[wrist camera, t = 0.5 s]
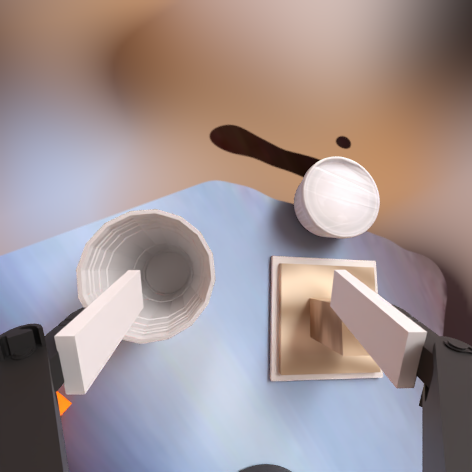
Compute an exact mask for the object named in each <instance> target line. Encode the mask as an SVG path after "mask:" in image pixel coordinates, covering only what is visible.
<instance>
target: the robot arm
mask: <svg viewBox="0 0 472 472" xmlns="http://www.w3.org/2000/svg"><path fill="white" fill-rule="evenodd" d="M330 307H331V308H332V309H333V310H334V311H335V313H336V314H337V315H338V316H339V318H340V319H341V320H342V321H343V323H344V324H345V325H346V326H347V328H348V329H349V330H350V331H351V332H352V334H353V335H354V336H355V337H356V339H357V340H358V341H359V342H360V344H361V345H362V346H363V347H364V349H365V350H366V351H367V352H368V354H369V355H370V356H371V357H372V358H373V360H374V361H375V362H376V363H377V365H378V366H379V367H380V368H381V370H382V371H383V372H384V373H385V375H386V376H387V377H388V378H389V380H390V381H391V382H392V383H393V384H394V386H395V387H396V388H414V385H415V381H416V377H417V376H418V377H419V378H420V379H421V380H422V382H423V383H424V387H423V391H422V395H421V399H420V403H419V406H421V407H423V472H472V347H471V346H470V345H468V344H466V343H464V342H462V341H459V340H457V339H454V338H450V337H442V336H438V335H437V334H436V333H434V332H433V331H432V330H430V329H429V328H428V327H426V326H425V325H423V324H422V323H421V322H418V320H417V319H415V318H414V317H412V316H411V315H410V314H409V313H407V312H406V311H405V310H403V309H401V308H399V307H397V306H395V305H391V304H390V303H388V302H387V301H386V300H384V299H383V298H382V297H381V296H379V295H378V294H377V293H375V292H374V291H373V290H371V289H370V288H369V287H367V286H366V285H365V284H363V283H362V282H361V281H360V280H358V279H357V278H356V277H354V276H353V275H352V274H350V273H349V272H348V271H346V270H334V277H333V286H332V294H331V302H330ZM142 309H143V296H142V286H141V275H140V270H128V271H127V272H126V273H125V274H124V275H122V276H121V277H120V278H119V279H118V280H117V281H116V282H115V283H113V284H112V285H111V286H110V287H109V288H108V289H107V290H106V291H104V292H103V293H102V294H101V295H100V296H99V297H98V298H97V299H95V300H94V301H93V302H92V303H91V304H90V305H89V306H88V307H87V308H81V309H79V310H77V311H75V312H73V313H72V314H70V315H69V316H68V317H67V318H66V319H65V320H64V321H62V322H61V323H60V324H59V325H58V326H56V327H55V328H54V329H53V330H52V331H50V332H49V333H48V334H47V335H46V336H44V332H43V328H42V326H41V325H39V324H27V325H23V326H19V327H16V328H13V329H11V330H9V331H7V332H5V333H3V334H2V335H0V472H69V468H68V462H67V455H66V449H65V442H64V436H63V429H62V423H61V416H60V410H59V403H58V397H57V393H56V392H57V390H58V389H59V388H60V387H61V386H62V384H63V383H64V387H65V392H66V395H76V394H86V392H87V391H88V389H89V388H90V386H91V385H92V383H93V382H94V380H95V379H96V377H97V376H98V374H99V373H100V371H101V370H102V368H103V367H104V365H105V364H106V363H107V361H108V360H109V358H110V357H111V355H112V354H113V352H114V351H115V349H116V348H117V346H118V345H119V343H120V342H121V340H122V339H123V337H124V336H125V334H126V333H127V331H128V330H129V328H130V327H131V325H132V324H133V322H134V321H135V319H136V318H137V316H138V315H139V313H140V312H141V310H142ZM239 472H291V471H290V470H288V469H285V468H283V467H280V466H276V465H268V464H264V465H256V466H252V467H248V468H246V469H243V470H241V471H239Z"/></svg>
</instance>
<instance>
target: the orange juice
mask: <svg viewBox="0 0 472 472" xmlns="http://www.w3.org/2000/svg"><path fill="white" fill-rule="evenodd" d="M56 393H57V397H58V403H59V410H60V416H61V415H62V414H63V413H64V412H65V411H66V409H67V408H68V407H69V406H70V405H71V404H72V403H71V402H69V401H68V400H67V399H66V398H65V397H63V396H62V395H61V394H60V393H59V392H56Z"/></svg>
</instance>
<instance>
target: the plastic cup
mask: <svg viewBox="0 0 472 472" xmlns="http://www.w3.org/2000/svg"><path fill="white" fill-rule="evenodd" d="M128 270H140V275H141V286H142V296H143V309H142V310H141V312H140V313H139V315H138V316H137V318H136V319H135V321H134V322H133V324H132V325H131V327H130V328H129V330H128V331H127V333H126V334H125V336H124V337H123V339H122V340H126V341H130V342H135V343H139V344H143V343H149V342H155V341H161V340H167V339H170V338H171V337H173V336H175V335H176V334H178V333H180V332H181V331H183V330H185V329H186V328H188V327H190V326H191V325H192V324H193V323H194V322H195V320H196V319H197V318H198V317H199V315H200V314H201V313H202V311H203V310H204V309H205V308H206V306H207V305H208V303H209V300H210V296H211V293H212V289H213V286H214V283H215V270H214V261H213V254H212V252H211V250H210V248H209V246H208V245H207V243H206V241H205V239H204V237H203V235H202V234H201V232H200V231H198V230H197V229H196V228H195V227H193V226H192V225H191V224H190V223H189V222H187V221H186V220H185V219H184V218H182V217H181V216H177V215H174V214H171V213H167V212H164V211H161V210H158V209H152V210H139V211H129V212H127V213H125V214H123V215H121V216H119V217H117V218H115V219H112V220H110V221H108V222H106V223H104V225H103V226H102V227H101V228H100V229H99V230H98V231H97V232H96V233H95V234H94V235H93V236H92V238H91V239H90V240H89V241H88V242H87V243H86V245H85V247H84V250H83V253H82V255H81V258H80V261H79V264H78V266H77V269H76V273H77V288H78V298H79V300H80V302H81V303H82V305H83V307H84V308H87V307H88V306H89V305H90V304H91V303H92V302H93V301H94V300H95V299H97V298H98V297H99V296H100V295H101V294H102V293H103V292H104V291H106V290H107V289H108V288H109V287H110V286H111V285H112V284H113V283H115V282H116V281H117V280H118V279H119V278H120V277H121V276H122V275H124V274H125V273H126V272H127V271H128Z"/></svg>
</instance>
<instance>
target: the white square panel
mask: <svg viewBox="0 0 472 472" xmlns="http://www.w3.org/2000/svg"><path fill="white" fill-rule="evenodd" d="M280 263H287V264H309V265H331V266H352V267H374V275H375V291H376V293H377V294H378V291H377V275H376V261H362V260H343V259H323V258H303V257H284V256H271V332H270V380H271V381H293V380H323V379H352V378H382V377H383V371H382V370H381V368H380V371H381V372H373V373H339V374H306V375H281V374H280V373H279V267H280Z"/></svg>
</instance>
